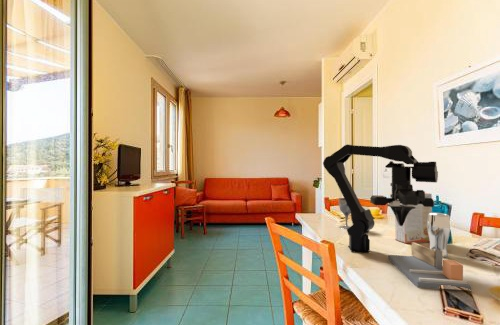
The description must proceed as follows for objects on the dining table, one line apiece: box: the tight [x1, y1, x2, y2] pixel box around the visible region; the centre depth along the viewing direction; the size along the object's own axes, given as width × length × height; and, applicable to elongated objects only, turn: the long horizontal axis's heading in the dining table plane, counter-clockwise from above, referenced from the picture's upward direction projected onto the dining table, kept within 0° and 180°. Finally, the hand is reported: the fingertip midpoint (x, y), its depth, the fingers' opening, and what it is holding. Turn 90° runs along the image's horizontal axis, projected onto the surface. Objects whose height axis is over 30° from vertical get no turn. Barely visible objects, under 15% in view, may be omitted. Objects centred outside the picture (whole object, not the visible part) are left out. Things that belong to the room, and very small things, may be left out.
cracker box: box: [394, 192, 433, 244], centre depth 112 cm, size 14×6×21 cm, turn 102°
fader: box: [442, 259, 464, 281], centre depth 72 cm, size 3×4×4 cm
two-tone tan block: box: [411, 242, 436, 266], centre depth 85 cm, size 10×1×4 cm, turn 7°
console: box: [388, 250, 472, 291], centre depth 79 cm, size 13×21×7 cm, turn 171°
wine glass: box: [338, 197, 351, 230], centre depth 135 cm, size 8×8×15 cm
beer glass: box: [427, 212, 451, 258], centre depth 95 cm, size 7×7×15 cm
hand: (400, 225), depth 90 cm, fingers closed
